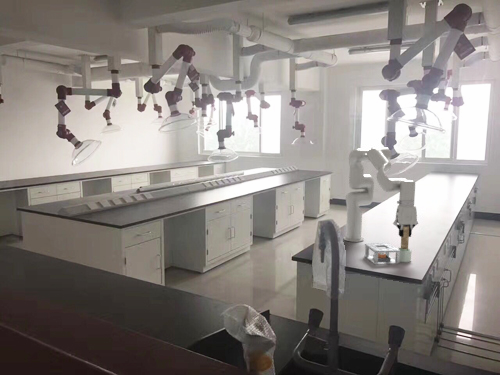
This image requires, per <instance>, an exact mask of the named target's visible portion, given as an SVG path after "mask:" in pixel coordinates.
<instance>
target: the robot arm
mask: <svg viewBox="0 0 500 375" xmlns="http://www.w3.org/2000/svg"><path fill="white" fill-rule="evenodd" d="M390 159H392V150H390V149H389V147H385V146H383V147H382V146H381V147H380V146H379V147H378V146H375V147H371V148H363V147H362V148H354V149H352V150H351V151H350V152H349V155H348V164H349V176H348V184H349V188H350V189H351V190H354V191H350V192H348V193H347V194H346V196H345V204H346V227H345V230H346V231H345V233H346V234H345V236H343V240H344V241H347V242H352V243H355V242H356V243H360V242H363V241H364V240H365V239H364V237H363V236H362V227H363V226H362V224H363V223H362V222H363V212H362V210H361V208H360V207H362V206H363V207H364V206H370V205H371V204H372V203H373V200H374V188H375V187H374V186H375V185H374V184H375V183H374V182H375V181H374V178H373V176H372V175H371V174H369V173H368V174H366V173H365V174H364V166H363V164H362V163H371V164H372V166H373V167H374V168H375V170H376V181H377V184H378V185H379V186H380V188H381V189H382V190H383V191H384V192H385V193H399V199H398V200H397V202H396V204H398V205H397V208H396V212H395V219H394V221H393V223H392V224H393V225H394V226H396V228H397V229H398V236H399V237H400V238H401V237H403V225H409V238H411V237H412V235H413V234H412V232H413V229H414V228H415V227H416V226H418V225H419V222H418V214H417V211H418V210H417V206H416V205H415V196H416V181H414V180H412V179H406V178H403V177H399V178H398V177H395V178H389V177H388V176H387V175H386V173H387V172H388V171H389V170H391V168H392V162H390ZM355 190H356V191H355ZM358 190H359V191H358Z"/></svg>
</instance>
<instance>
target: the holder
mask: <svg viewBox="0 0 500 375" xmlns="http://www.w3.org/2000/svg"><path fill="white" fill-rule="evenodd" d="M397 248H398V249H399V250H401V252H400V259H399V263H410V262H411V261H412V252H413V251H412V249H411V248H408V249H401V247H397Z"/></svg>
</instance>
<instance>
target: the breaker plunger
mask: <svg viewBox="0 0 500 375" xmlns="http://www.w3.org/2000/svg"><path fill="white" fill-rule="evenodd" d="M378 258H386V254H385V253H378Z"/></svg>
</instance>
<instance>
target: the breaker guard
mask: <svg viewBox="0 0 500 375" xmlns="http://www.w3.org/2000/svg"><path fill="white" fill-rule="evenodd" d="M364 246H365V248H364V249H365V251H364V258H366V259H367V260H369V262H371V263H372V264H373V265H392V264H393V265H394V264H397V265H398V264H399V265H400V261H399V259H400V252H401V250H399V249H398V248H399V247H396V246H395V245H393V244H392V243H390V242H378V243H364ZM370 251H372V252H373V253H374V254H371V255H370ZM378 253H384V254H386V258H378ZM390 253H395V257H394V258H393V257H392V256H390Z"/></svg>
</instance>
